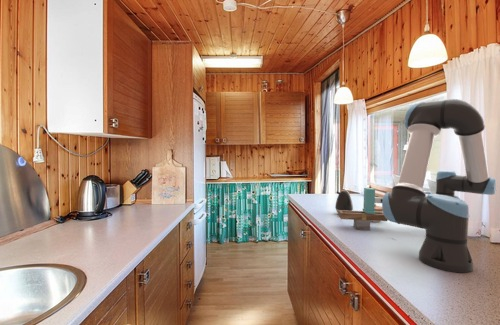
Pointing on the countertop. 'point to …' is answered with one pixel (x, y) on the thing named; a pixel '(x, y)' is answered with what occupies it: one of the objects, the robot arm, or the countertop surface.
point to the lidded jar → (377, 209)
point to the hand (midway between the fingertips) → (373, 200)
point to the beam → (361, 218)
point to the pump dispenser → (344, 201)
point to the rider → (369, 200)
